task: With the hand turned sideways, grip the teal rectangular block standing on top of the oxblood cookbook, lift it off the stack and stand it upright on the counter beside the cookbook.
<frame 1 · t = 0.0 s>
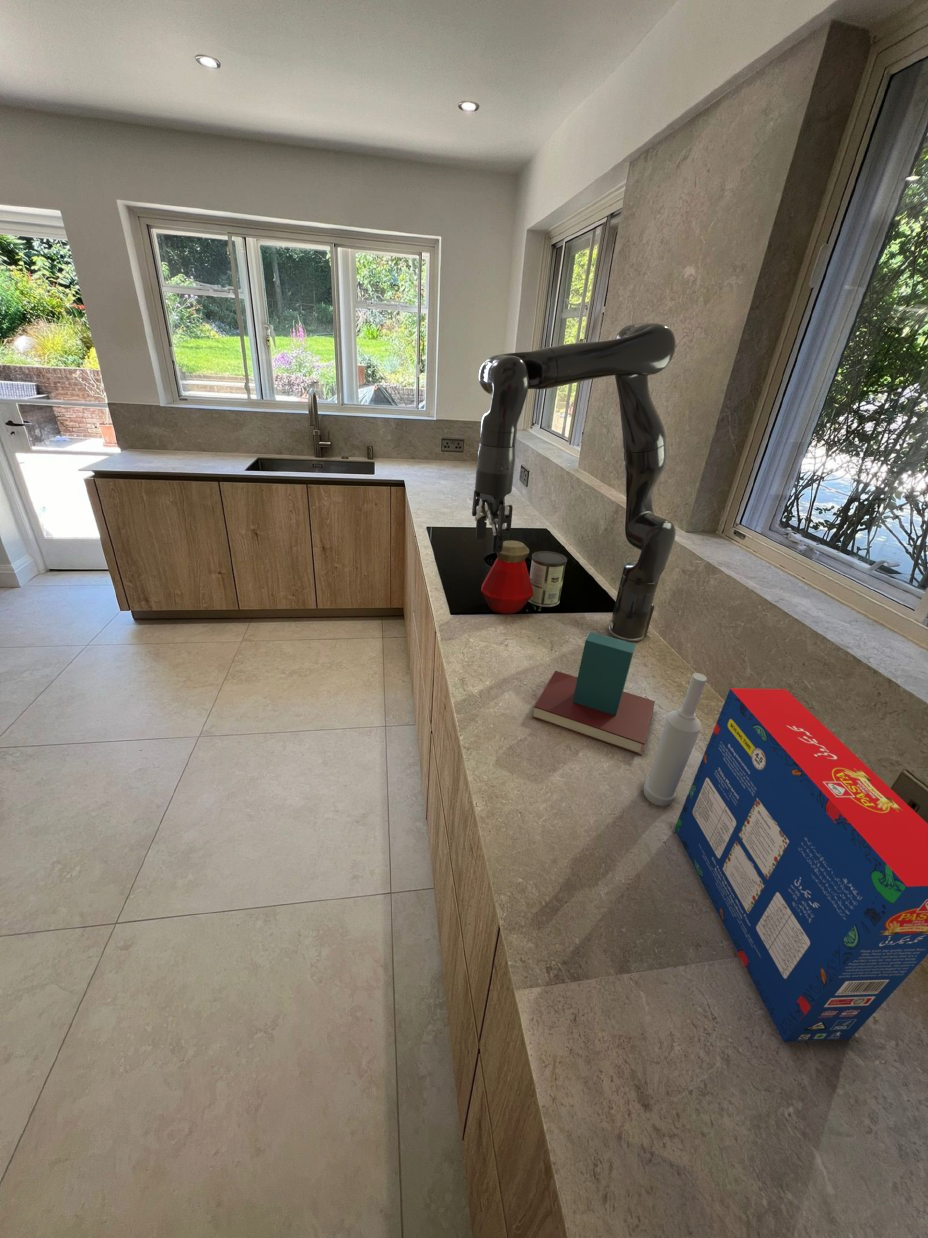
hand: (488, 544, 106), 29 cm above the worktop, tool pointing down, fingers open, 8 cm apart
pasta box: (746, 916, 68), on the worktop
oxblood cookbook: (593, 714, 104), on the worktop, touching teal rectangular block
bottle 2: (657, 796, 86), on the worktop
red lidded jar: (505, 608, 146), on the worktop
teal rectangular block: (595, 703, 103), point 3 cm above the worktop, touching oxblood cookbook
coffee can: (542, 600, 152), on the worktop
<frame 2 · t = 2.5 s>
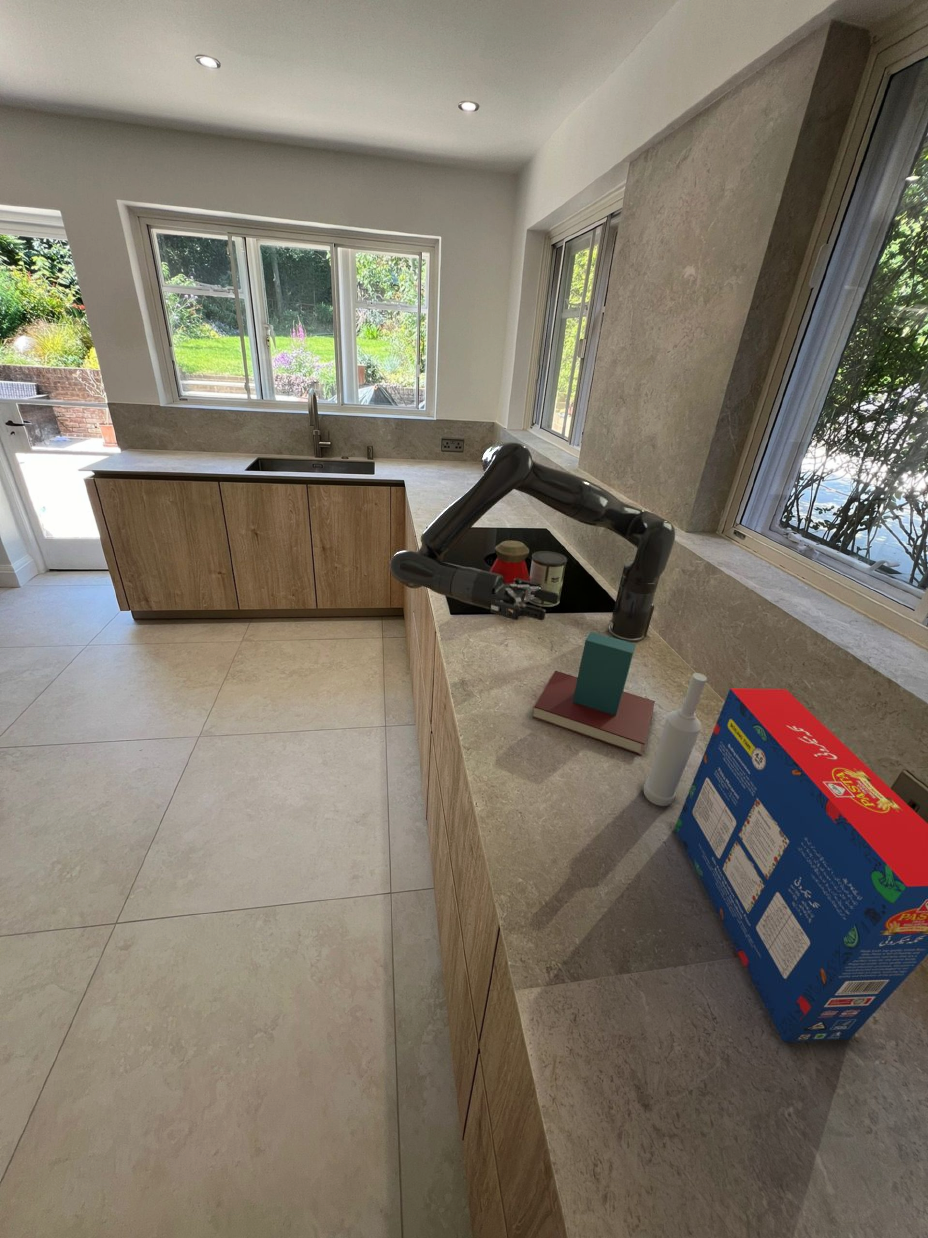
hand: (551, 606, 98), 22 cm above the worktop, tool horizontal, fingers open, 8 cm apart
nothing on the worktop moved.
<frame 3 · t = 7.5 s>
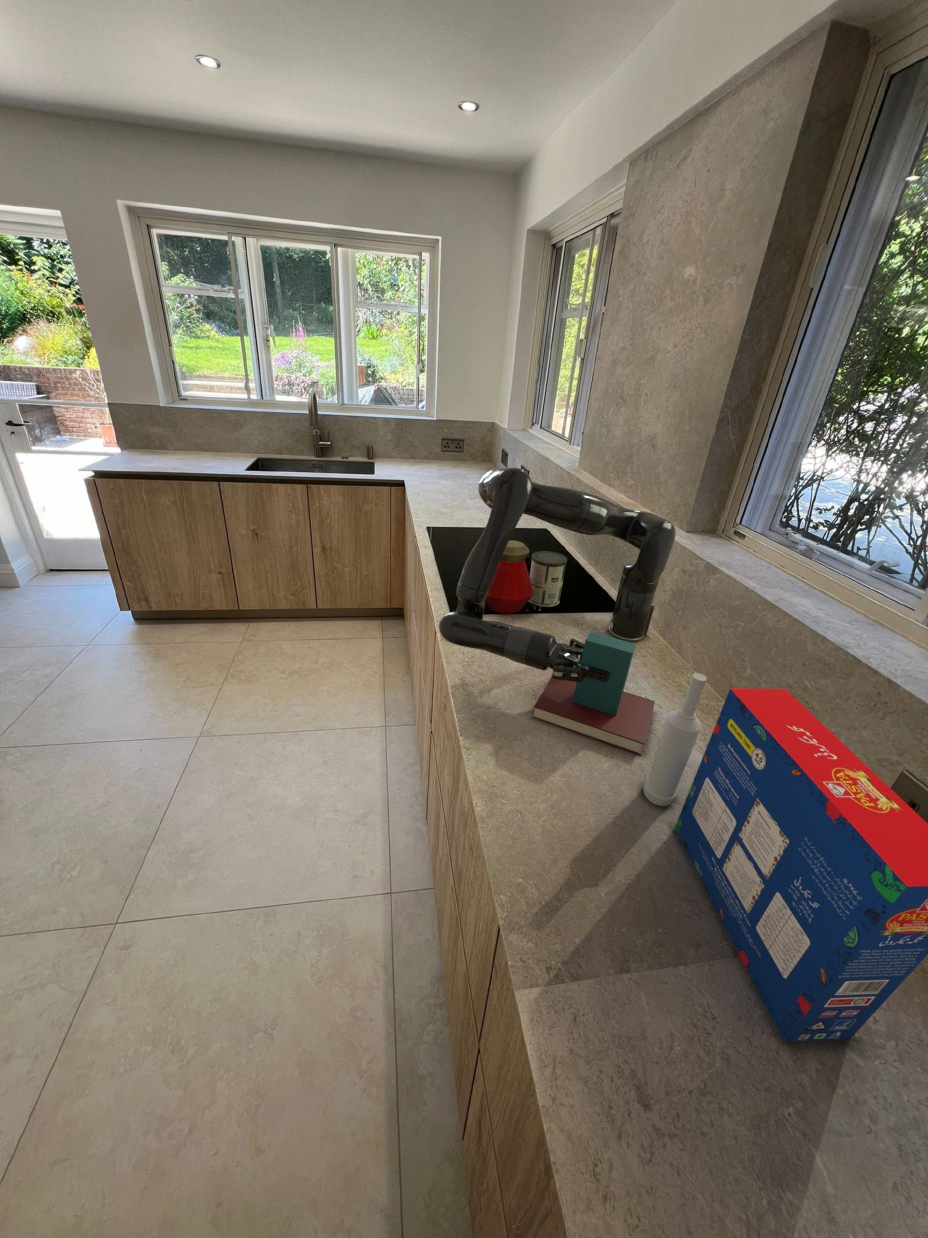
hand: (610, 671, 98), 12 cm above the worktop, tool horizontal, fingers closed on teal rectangular block, 4 cm apart
teal rectangular block: (595, 703, 103), point 3 cm above the worktop, touching gripper, oxblood cookbook
everything else where it was.
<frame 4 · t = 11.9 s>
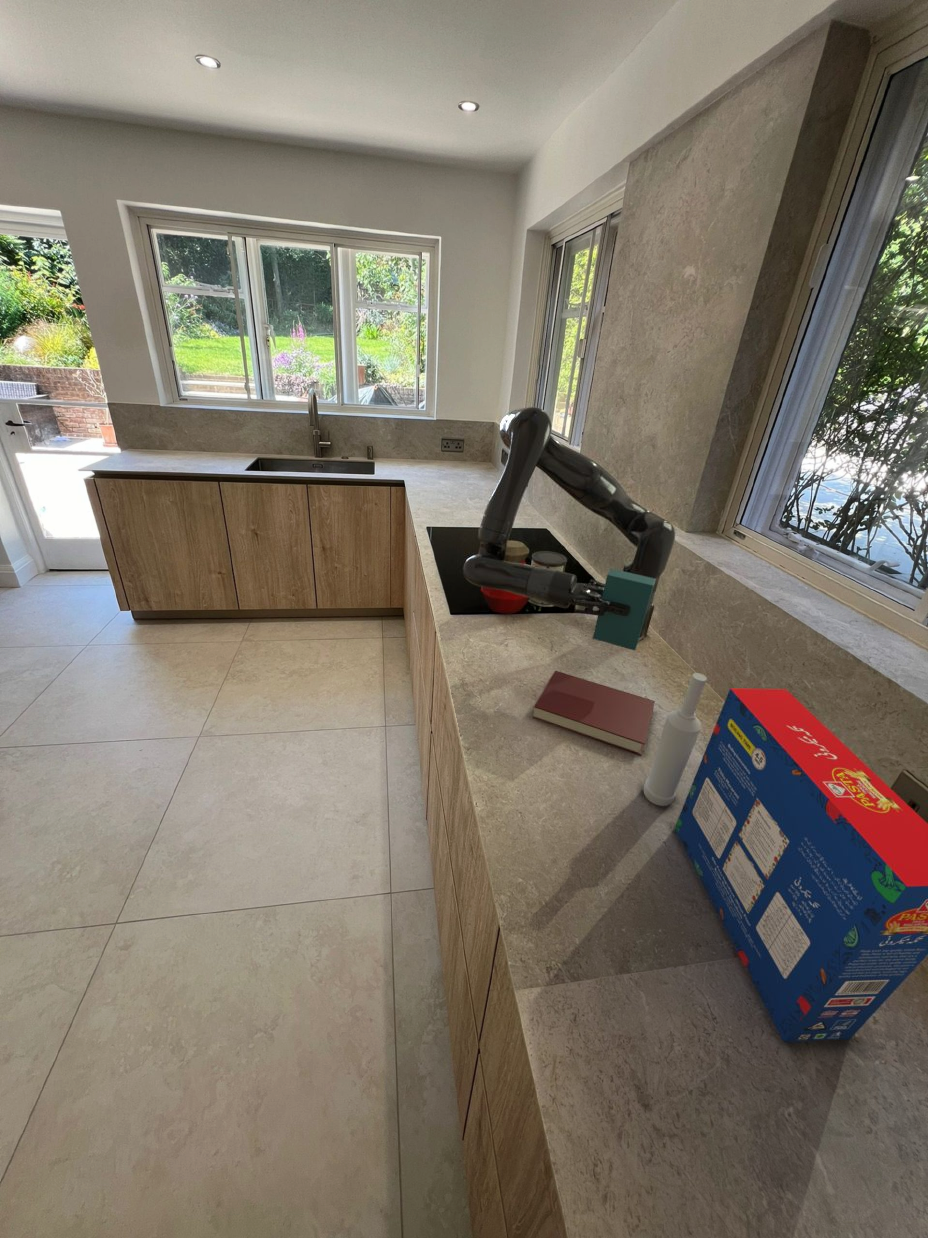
hand: (630, 606, 102), 21 cm above the worktop, tool horizontal, fingers closed on teal rectangular block, 4 cm apart
oxblood cookbook: (593, 714, 104), on the worktop
teal rectangular block: (615, 640, 106), point 13 cm above the worktop, touching gripper
everything else where it was.
when the fingers open (9 cm above the worktop, at t = 16.1 s): teal rectangular block stays where it is, on the worktop.
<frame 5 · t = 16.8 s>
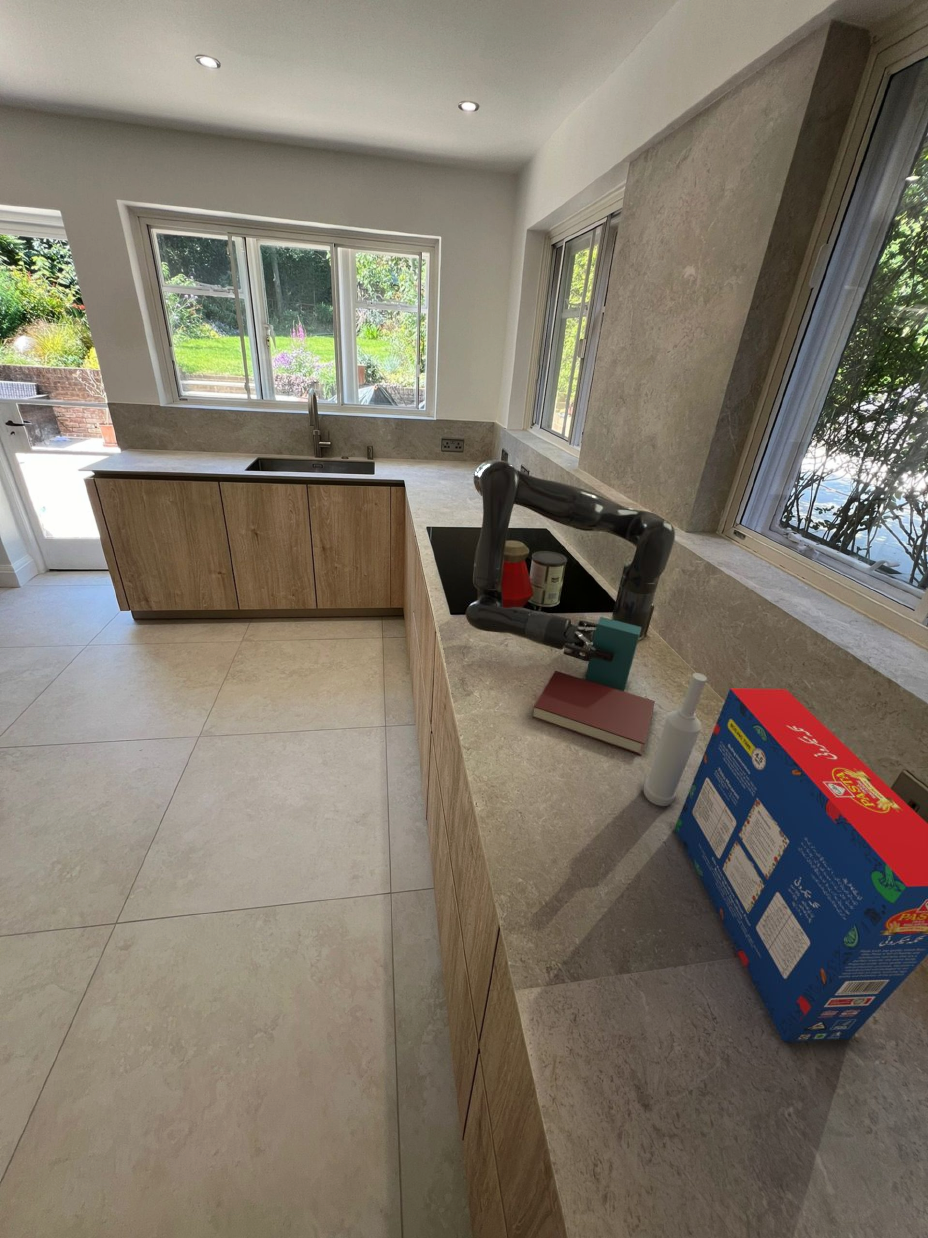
hand: (616, 648, 111), 9 cm above the worktop, tool horizontal, fingers open, 8 cm apart
teal rectangular block: (605, 681, 115), on the worktop
everything else where it was.
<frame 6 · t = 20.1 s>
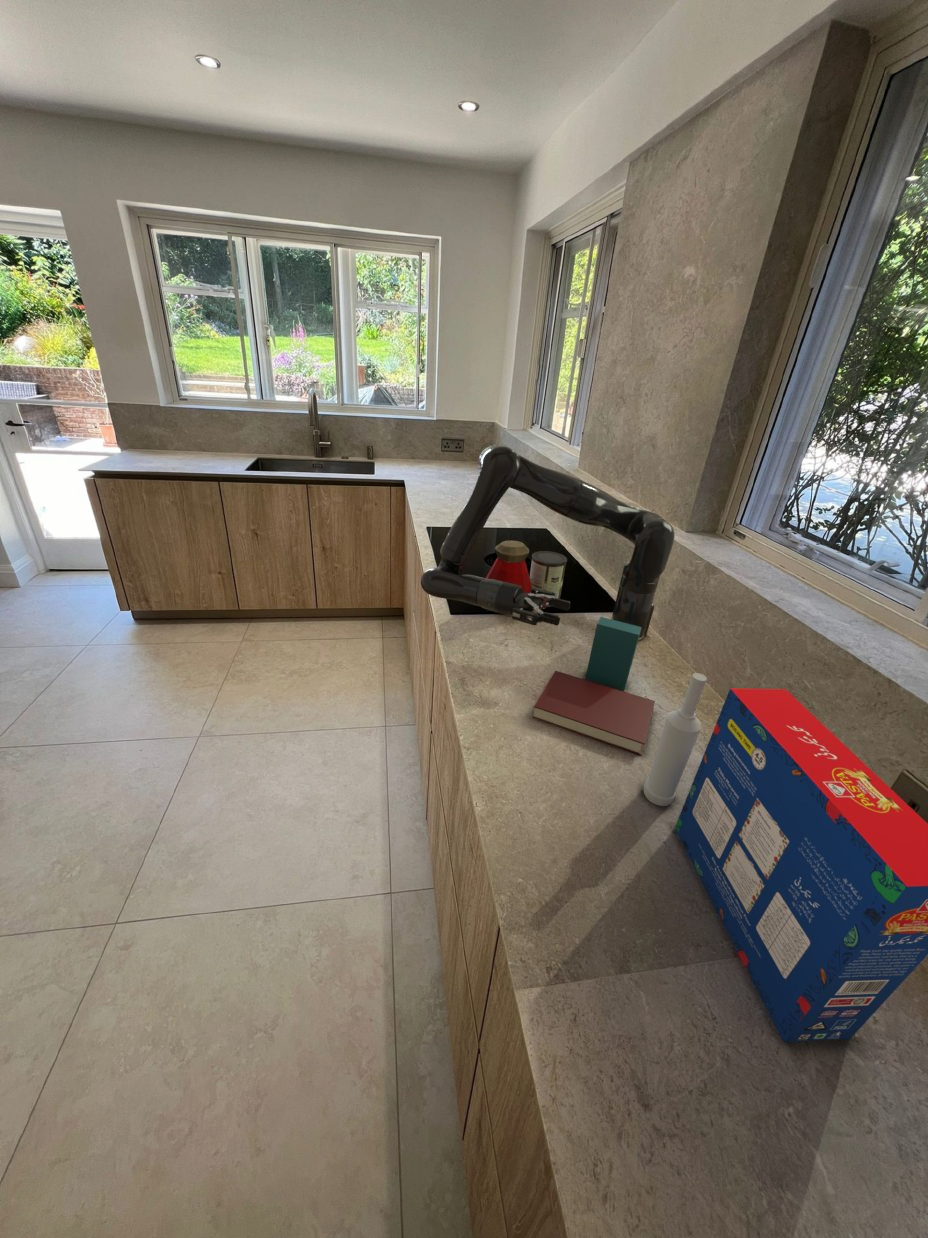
hand: (564, 613, 113), 14 cm above the worktop, tool horizontal, fingers open, 8 cm apart
nothing on the worktop moved.
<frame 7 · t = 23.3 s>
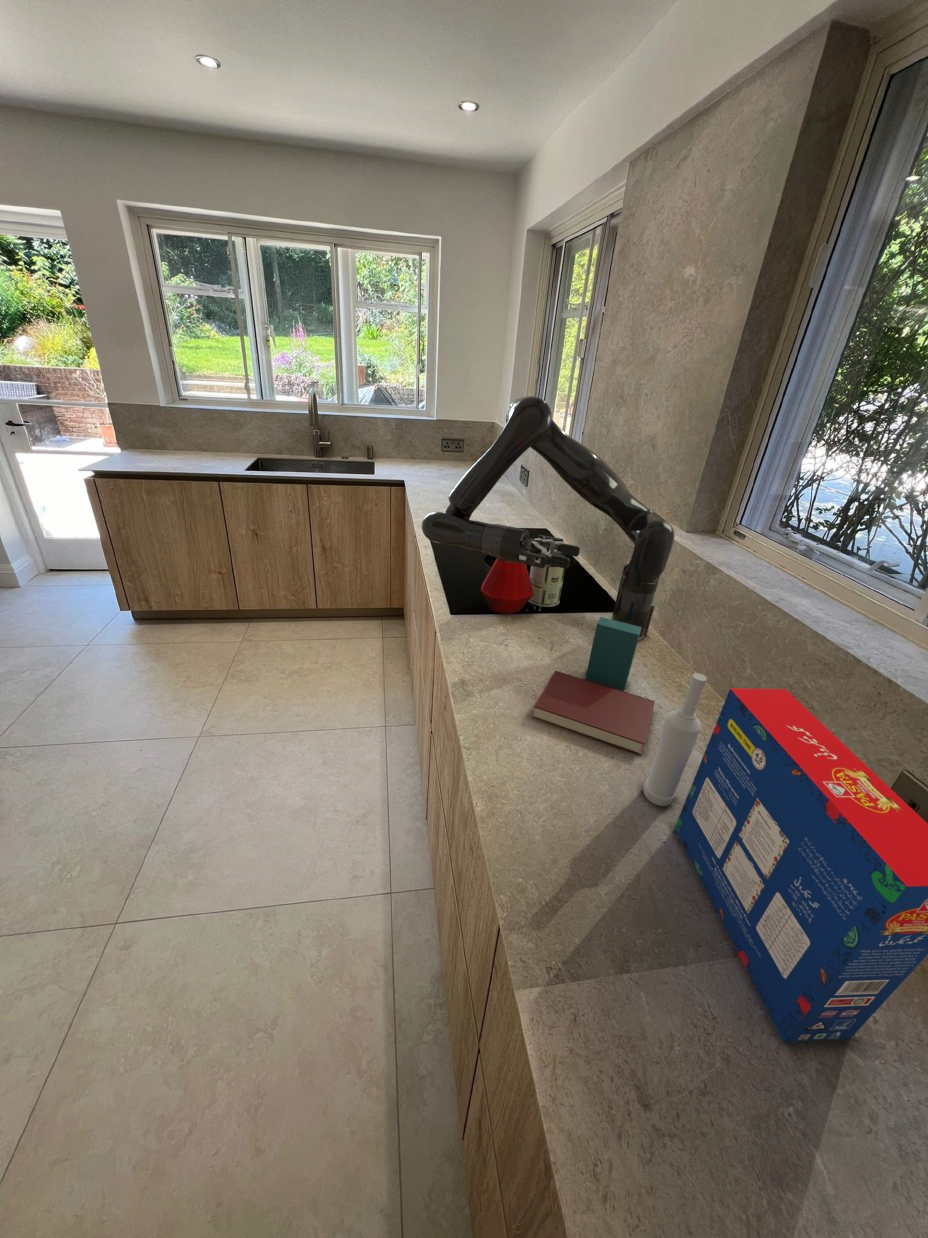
hand: (574, 557, 107), 28 cm above the worktop, tool horizontal, fingers open, 8 cm apart
nothing on the worktop moved.
at the end: teal rectangular block inside the target area (0.2 cm from its centre), on the worktop; teal rectangular block touching worktop; teal rectangular block tilted 0° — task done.
